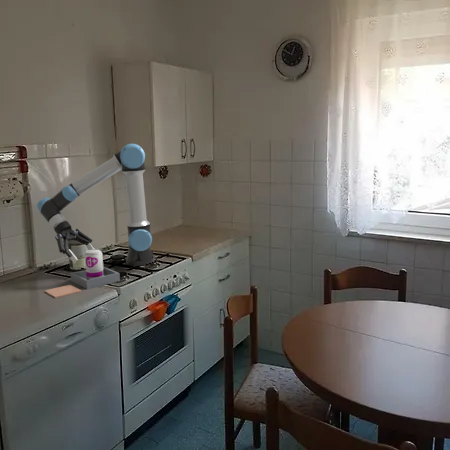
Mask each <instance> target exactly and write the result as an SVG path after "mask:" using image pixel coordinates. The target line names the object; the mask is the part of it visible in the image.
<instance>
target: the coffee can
mask: <svg viewBox="0 0 450 450" xmlns="http://www.w3.org/2000/svg"><path fill="white" fill-rule="evenodd" d="M86 246H87V245H85V244H82V243H80V242H78V241H76V240H75V241H74V240H70V241H68V250H69V249H70V250H71V251H72V253H73V254H74V255H75V256H76V258H77V259H78V260H77V261H76V263H73V261H72V260H71V259H70V258H69V257H68V260H69V269H71V270H82V269H81V268H84V269H86V265H85V253H86V251H88V248H87V247H86Z"/></svg>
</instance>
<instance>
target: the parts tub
mask: <svg viewBox="0 0 450 450" xmlns="http://www.w3.org/2000/svg"><path fill="white" fill-rule="evenodd" d="M103 269H104V276H102V277H98V278H93V279H89V280H87V278H86V269H83V270H80V271H75V272H74V271H73V272H71V273H70V280H71V282H72V283H73V284H76V285H78V286H81V287H82V288H85V289H86V290H91V289H94V288H97V287H101V286H105V285H109V284H112V283H114V284H115V283H118V282H121V277H120V276H121V275H120V274H121V273H120V272H117V271H115V270H112V269H110V268H107V267H105V266H103ZM117 281H118V282H117Z"/></svg>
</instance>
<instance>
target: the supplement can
mask: <svg viewBox="0 0 450 450" xmlns="http://www.w3.org/2000/svg"><path fill="white" fill-rule="evenodd" d="M103 256H104V255H103V252H102V251H101V249H96V248H94V249H93V250H88V251H86V253H85V265H86V268H85V270H86V279H87V280H89V279H93V278H98V277H102V276H104V269H103V267H104V261H103V260H104V258H103Z"/></svg>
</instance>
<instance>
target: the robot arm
mask: <svg viewBox="0 0 450 450" xmlns="http://www.w3.org/2000/svg"><path fill="white" fill-rule="evenodd" d="M145 159H146V153H145V151H144V149H143V148H142V147H141V146H140V145H139V144H137V143H127V144H125V145H123V147H122V148H121V149H120V150H119V151H117V152H116V153H114V154H113V156H112V157H111V158H110V159H108V160H106V161H104V163H102V164H100V165H98V166H97V167H95V168H94V169H92V170H90V171H88V172H87V173H85V174H84V175H82V176H81V177H80V178H78V179H76V180H75V181H73V182H71V183H70V184H68V185H66V186H64V187H62V188H61V190H60V191H58V192H57V193H55V195H54V196H53V197H51V198H50V197H45V198H43V199H40V200H39V201H37V205H36V208H37V209H38V211H39V213H40V214H41V215H42V217H43V218H44V219H45V220H46V221H47V223H48V224H49V226H51V228H52V229H53V230H54V232H55V233H56V235H55V236H54V238H55V240H56V244H57V247H58V251H59V253H61V254H64V255H66V256H67V257H68V259H69V258H70V259H71V260H72V261H73V263H76V261H77V260H78V259H77V258H76V256H75V255H74V254H73V253H72V251H71V250H70V249H69V250H68V242H69V241H71V240H74V241H75V240H76V241H78V242H80V243H82V244H85V245H87V246H86V247H87V248H88V250H93V249H95V247H94V246H93V244H92V242H93V239H92V238H90V237H89V236H88V235H86V234H85V233H83V232H82V231H80V230H79V229H78V228H75V230H73V228H72V226H71V224H70V223H69V222H68V221H67V219H66V217H65V216H64V215H63V214H62V213H61V212H62V211H63V210H64V209H65V208H66V207H68V206H69V205H70V204H71V203H72V202H74V201H75V200H76V199H77V198H78V197H80V196H81V195H83V194H85V193H87V191H90V190H92V188H95V186H97V185H99V184H101V183H102V182H105V181H106V180H107V179H109V178H110V177H112V176H114V175H115V174H117V173H118V172H120V171H121V172H122V173H123V174H124V175H125V183H126V195H127V196H126V197H127V205H128V207H127V208H128V214H129V222H127V225H126V226H127V241H128V242H127V243H128V252H127V256H126V259H125V260H126V261H125V262H126V265H129V266H133V267H134V266H135V267H136V266H137V267H138V266H147V265H146V264H148V265H150V264H149V263H151V264H153V263H154V262H155V256H154V253H153V251H152V249H151V248H152V247H151V245H152V242H153V235H152V232H151V223H150V221H148V219H147V218H148V217H147V210H146V209H147V207H146V197H145V196H146V195H145V185H144V176H143V175H144V173H145V172H146V162H145ZM152 262H153V263H152Z"/></svg>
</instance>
